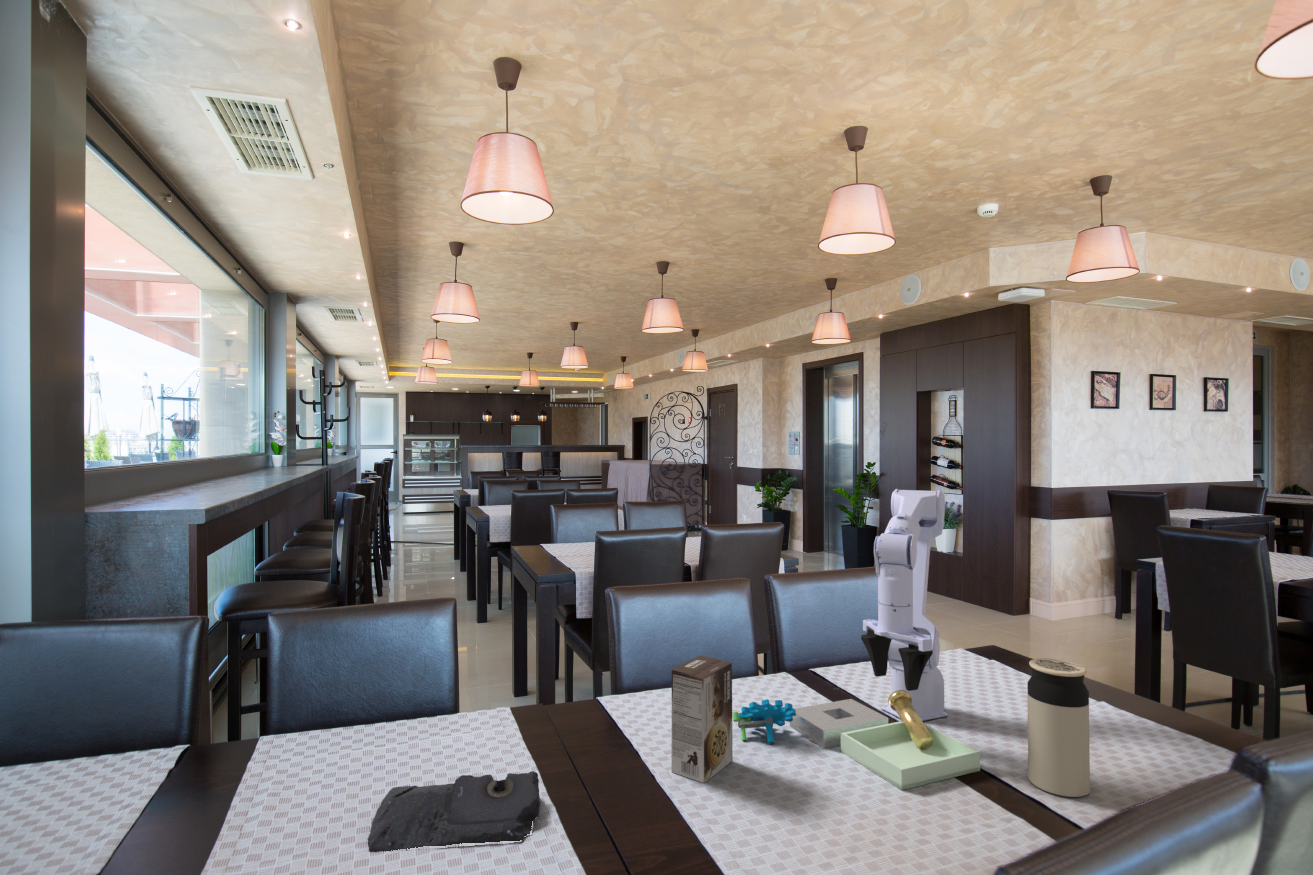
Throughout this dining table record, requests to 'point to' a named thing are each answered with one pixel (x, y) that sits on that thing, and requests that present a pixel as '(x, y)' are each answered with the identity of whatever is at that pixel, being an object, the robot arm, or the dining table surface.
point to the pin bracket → (834, 721)
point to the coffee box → (701, 717)
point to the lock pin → (910, 719)
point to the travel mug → (1058, 728)
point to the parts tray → (909, 755)
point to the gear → (764, 717)
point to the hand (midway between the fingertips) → (895, 682)
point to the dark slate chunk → (456, 812)
